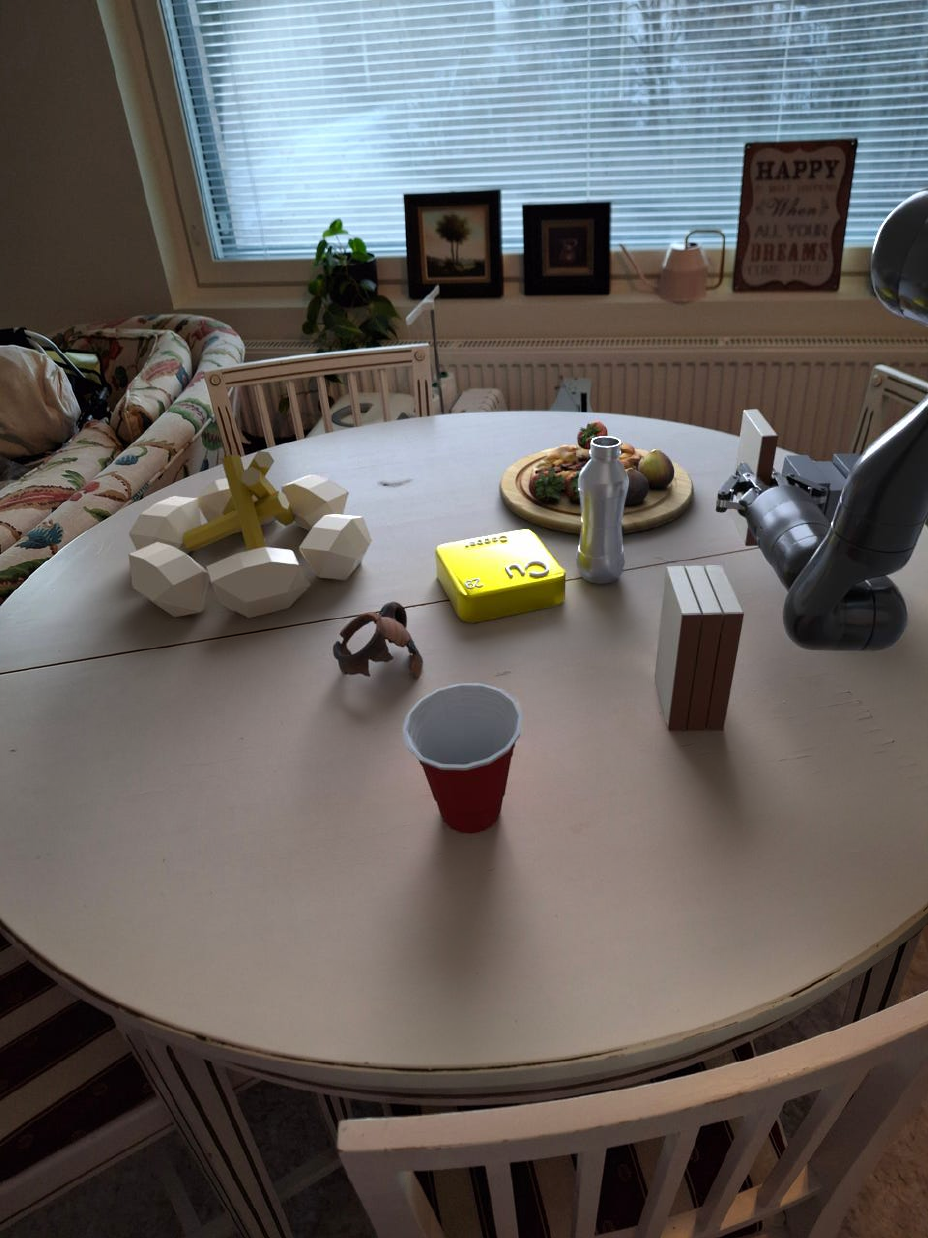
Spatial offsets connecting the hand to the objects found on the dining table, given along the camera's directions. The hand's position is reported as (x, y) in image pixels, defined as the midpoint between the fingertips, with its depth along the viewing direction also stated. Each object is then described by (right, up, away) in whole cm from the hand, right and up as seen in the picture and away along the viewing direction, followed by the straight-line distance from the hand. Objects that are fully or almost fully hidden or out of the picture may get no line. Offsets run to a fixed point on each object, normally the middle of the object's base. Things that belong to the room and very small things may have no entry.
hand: (751, 468), depth 104 cm
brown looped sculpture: (-47, -25, -6) cm, 54 cm away
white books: (-12, -29, -14) cm, 34 cm away
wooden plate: (-15, +1, +31) cm, 34 cm away
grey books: (+11, -12, +7) cm, 18 cm away
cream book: (0, -7, +4) cm, 9 cm away
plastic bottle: (-18, -14, +8) cm, 24 cm away
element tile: (-32, -15, +8) cm, 37 cm away
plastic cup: (-37, -38, -26) cm, 59 cm away
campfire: (-69, -11, +17) cm, 72 cm away
